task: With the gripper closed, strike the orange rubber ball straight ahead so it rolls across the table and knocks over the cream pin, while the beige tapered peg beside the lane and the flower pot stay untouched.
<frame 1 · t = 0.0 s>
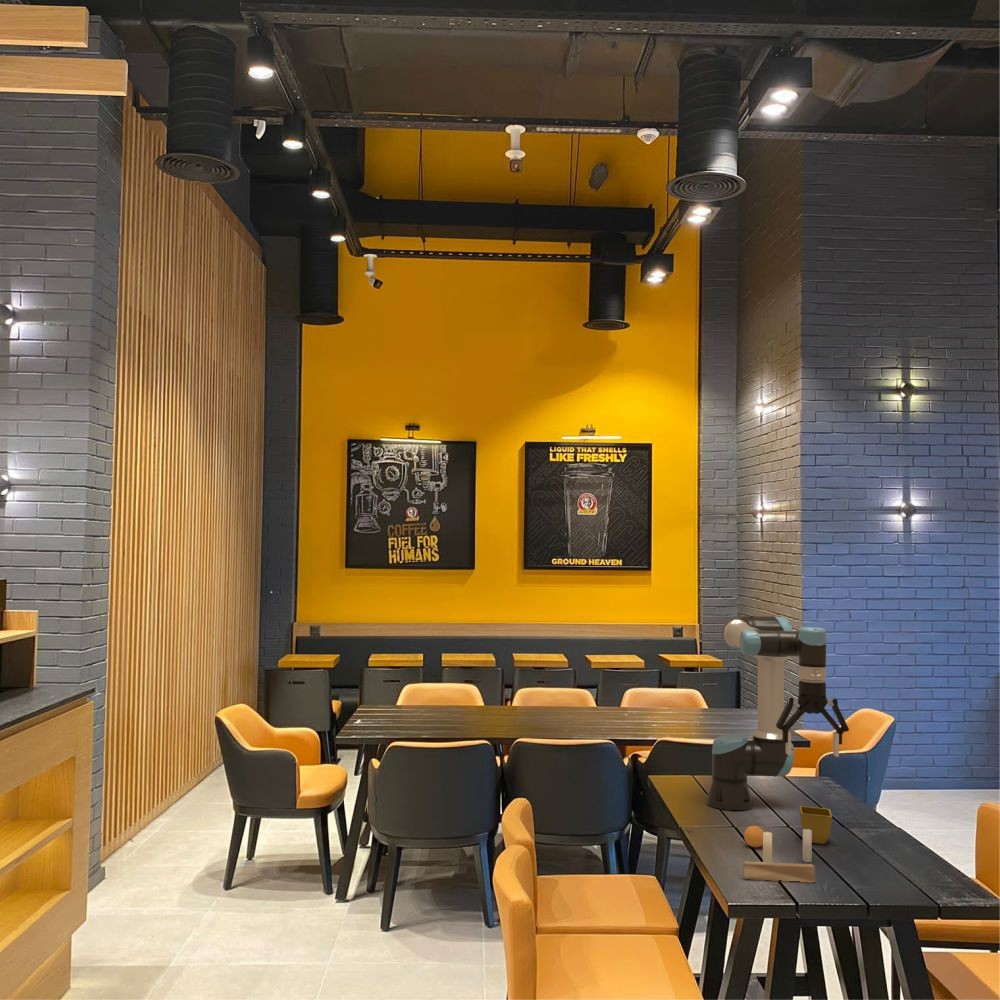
hand: (812, 755, 260), 28 cm above the table, tool pointing down, fingers open, 13 cm apart
flower pot: (815, 841, 271), on the table
ball: (754, 836, 264), on the table
back wall: (778, 879, 237), on the table
beige tapered peg: (807, 861, 252), on the table
cream pin: (767, 864, 249), on the table
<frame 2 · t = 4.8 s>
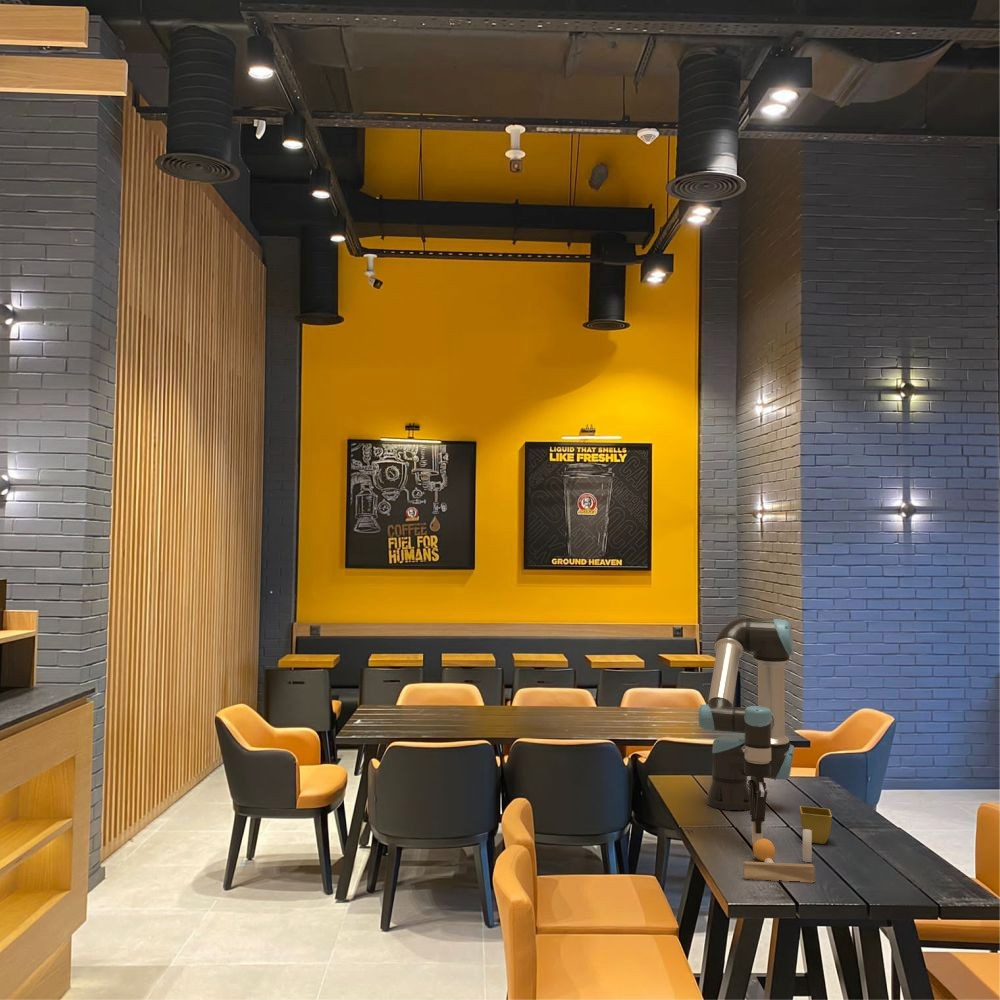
hand: (757, 843, 261), 2 cm above the table, tool pointing down, fingers closed
ball: (764, 849, 252), on the table
cream pin: (768, 862, 247), point 1 cm above the table, tilted 90°
everything else where it was.
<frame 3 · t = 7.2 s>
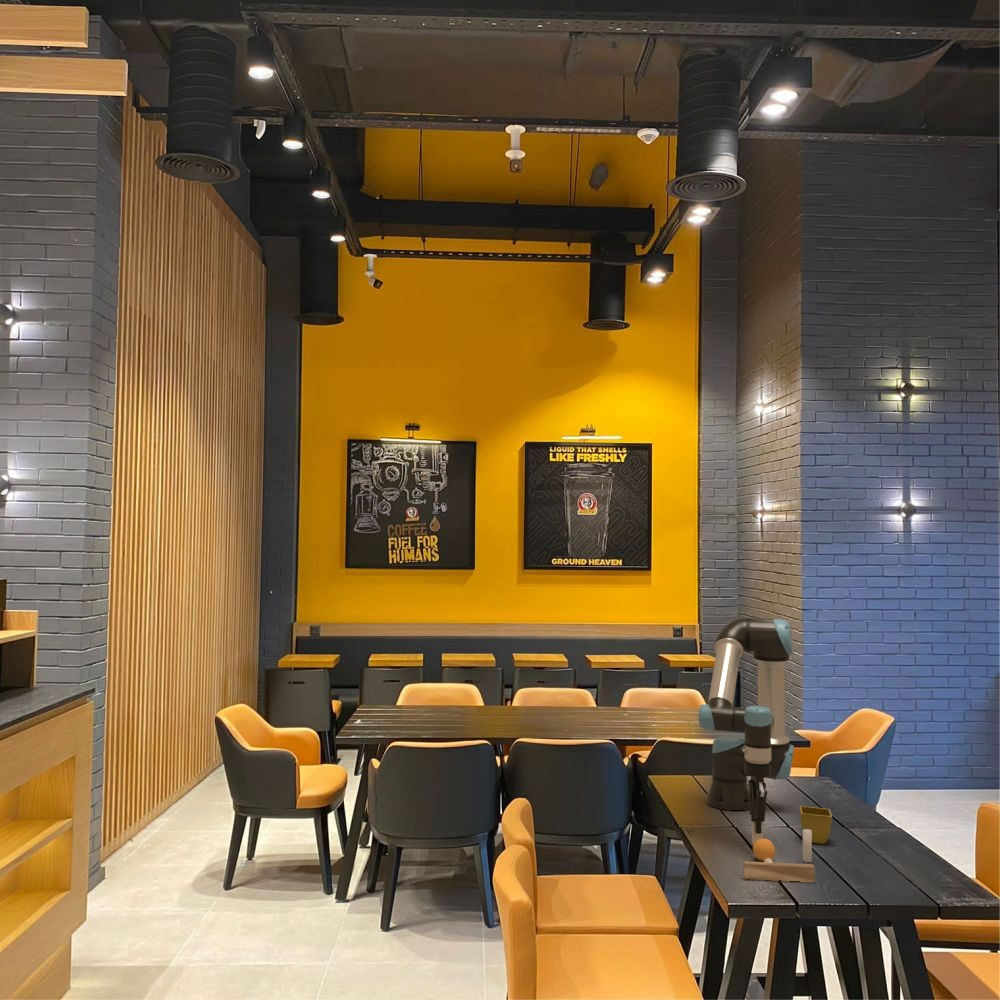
hand: (757, 843, 261), 2 cm above the table, tool pointing down, fingers closed
nothing on the table moved.
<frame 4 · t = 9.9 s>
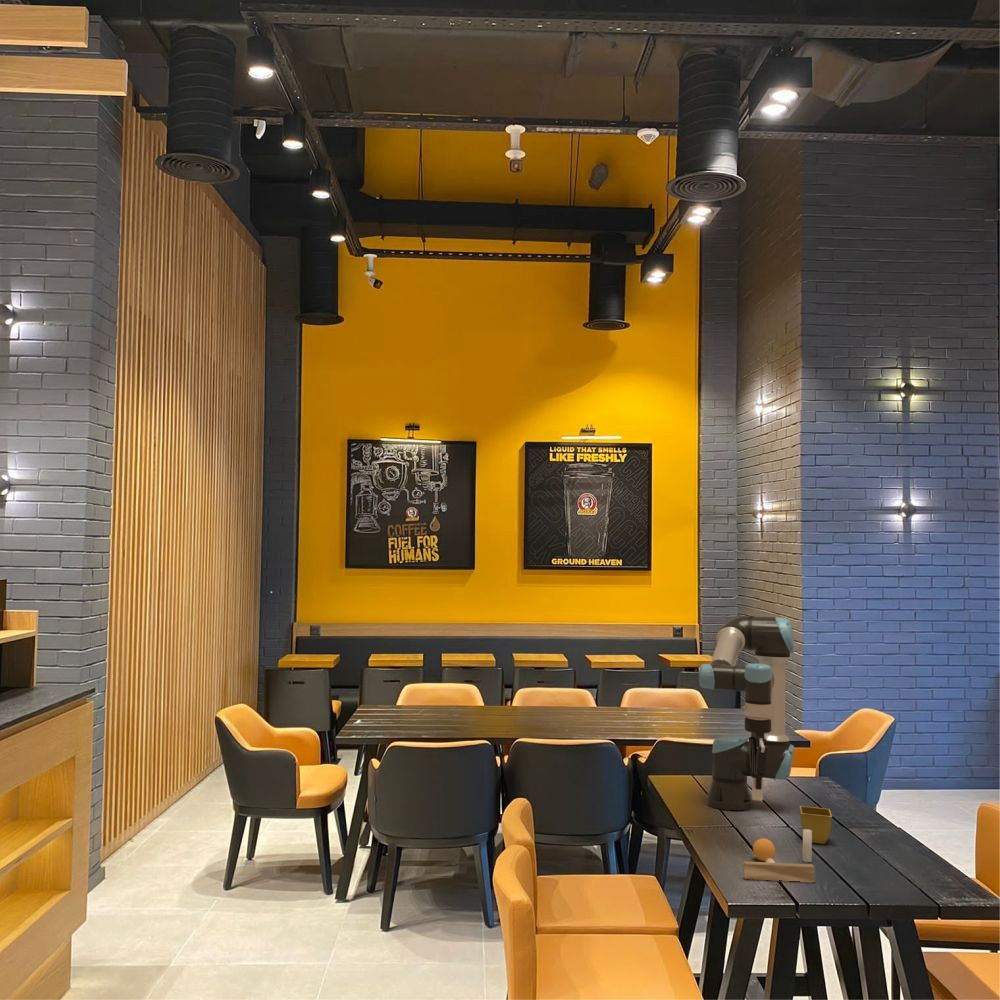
hand: (757, 799, 262), 14 cm above the table, tool pointing down, fingers closed
at the end: cream pin tilted 90°; cream pin never touched the robot; ball moved 12.1 cm from its start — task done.
